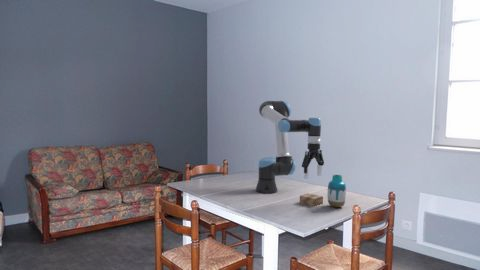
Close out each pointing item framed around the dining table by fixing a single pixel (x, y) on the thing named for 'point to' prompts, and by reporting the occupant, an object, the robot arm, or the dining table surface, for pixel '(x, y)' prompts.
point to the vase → (336, 191)
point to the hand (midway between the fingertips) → (312, 177)
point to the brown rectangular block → (311, 199)
